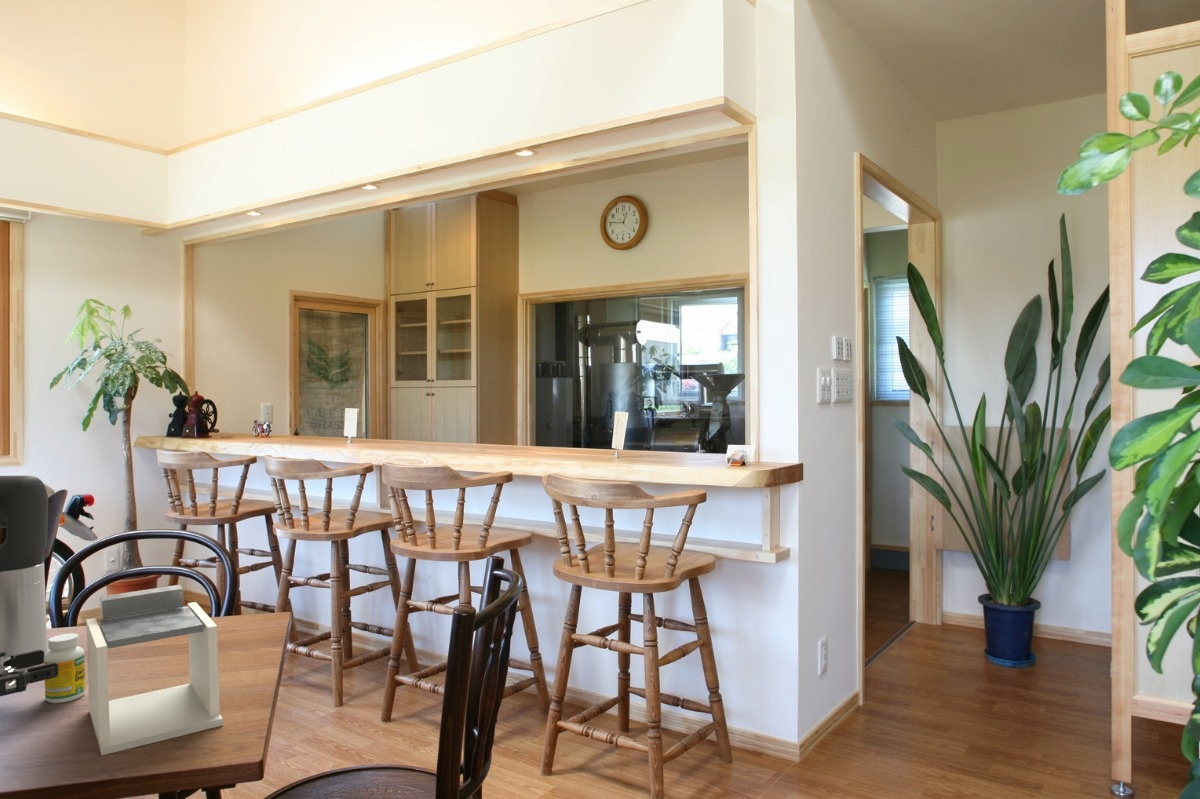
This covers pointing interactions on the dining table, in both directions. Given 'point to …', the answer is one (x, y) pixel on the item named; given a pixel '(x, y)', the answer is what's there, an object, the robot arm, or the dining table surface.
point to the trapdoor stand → (155, 695)
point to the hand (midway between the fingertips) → (50, 662)
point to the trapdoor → (146, 616)
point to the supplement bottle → (65, 669)
